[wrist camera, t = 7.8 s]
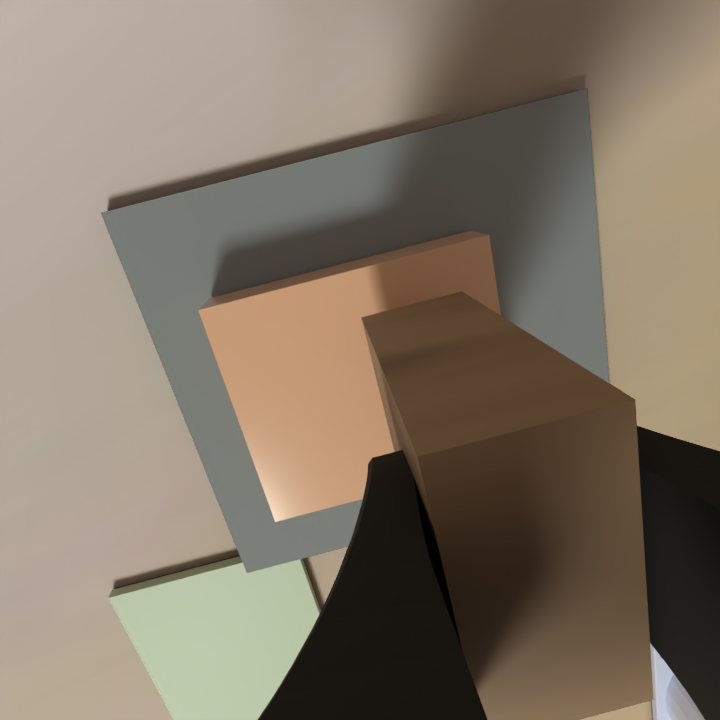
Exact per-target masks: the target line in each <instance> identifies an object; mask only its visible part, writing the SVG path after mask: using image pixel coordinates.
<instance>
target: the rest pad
mask: <svg viewBox="0 0 720 720" xmlns="http://www.w3.org/2000/svg"><path fill="white" fill-rule="evenodd" d="M108 599H109V600H110V602H111V604H112V606H113V608H114V610H115V612H116V613H117V615H118V617H119V619H120V621H121V623H122V625H123V626H124V628H125V630H126V632H127V634H128V636H129V638H130V639H131V641H132V643H133V645H134V647H135V649H136V651H137V652H138V654H139V656H140V658H141V660H142V662H143V664H144V665H145V667H146V669H147V671H148V673H149V675H150V677H151V678H152V680H153V682H154V684H155V686H156V688H157V690H158V691H159V693H160V695H161V697H162V699H163V701H164V702H165V704H166V706H167V708H168V710H169V712H170V714H171V715H172V717H173V719H174V720H258V718H259V717H260V715H261V714H262V712H263V711H264V709H265V708H266V706H267V705H268V703H269V702H270V700H271V699H272V697H273V696H274V694H275V693H276V691H277V689H278V688H279V686H280V684H281V683H282V681H283V679H284V678H285V676H286V674H287V673H288V671H289V669H290V668H291V666H292V664H293V662H294V661H295V659H296V657H297V655H298V653H299V652H300V650H301V648H302V646H303V644H304V643H305V641H306V639H307V637H308V635H309V634H310V632H311V630H312V628H313V626H314V624H315V622H316V620H317V618H318V616H319V614H320V612H321V610H320V607H319V604H318V601H317V598H316V595H315V593H314V590H313V587H312V584H311V581H310V578H309V575H308V573H307V570H306V567H305V564H304V561H303V559H299V560H295V561H291V562H288V563H284V564H280V565H276V566H272V567H269V568H265V569H261V570H257V571H254V572H250V573H247V572H246V570H245V567H244V565H243V562H242V560H241V558H240V556H238V557H234V558H231V559H227V560H223V561H219V562H215V563H212V564H208V565H204V566H200V567H197V568H193V569H189V570H185V571H181V572H178V573H174V574H170V575H166V576H162V577H159V578H155V579H151V580H147V581H143V582H140V583H136V584H132V585H128V586H125V587H121V588H117V589H113V590H112V592H111V594H110V596H109V598H108Z"/></svg>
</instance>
